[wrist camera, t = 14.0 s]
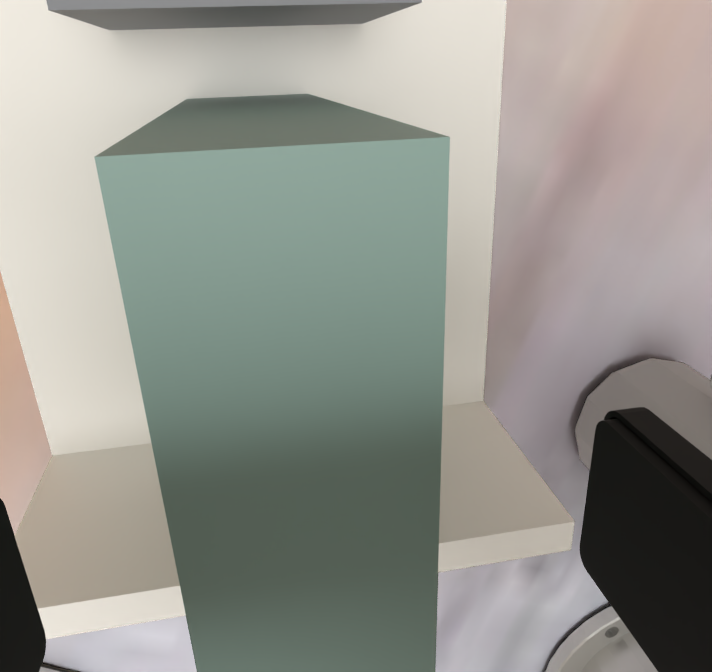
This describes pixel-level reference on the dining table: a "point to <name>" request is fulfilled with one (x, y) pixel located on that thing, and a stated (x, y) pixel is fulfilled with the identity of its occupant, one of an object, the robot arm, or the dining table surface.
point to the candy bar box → (52, 669)
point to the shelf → (102, 288)
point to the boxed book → (291, 372)
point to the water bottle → (652, 402)
